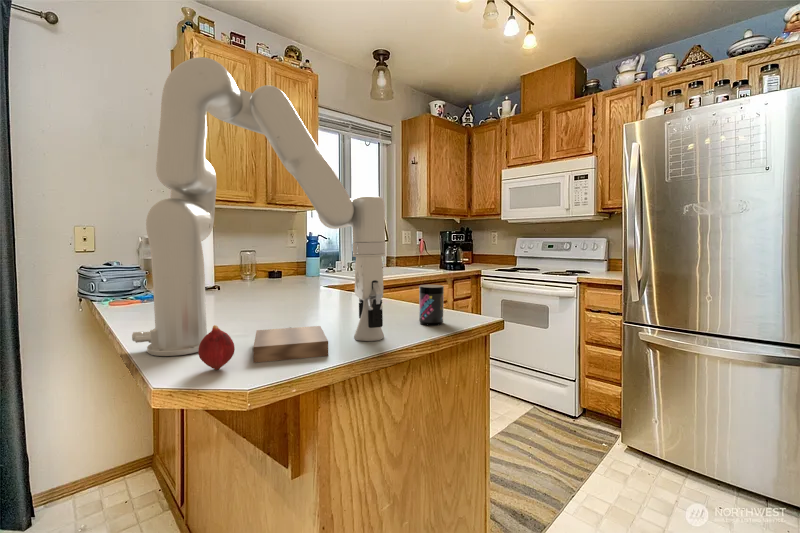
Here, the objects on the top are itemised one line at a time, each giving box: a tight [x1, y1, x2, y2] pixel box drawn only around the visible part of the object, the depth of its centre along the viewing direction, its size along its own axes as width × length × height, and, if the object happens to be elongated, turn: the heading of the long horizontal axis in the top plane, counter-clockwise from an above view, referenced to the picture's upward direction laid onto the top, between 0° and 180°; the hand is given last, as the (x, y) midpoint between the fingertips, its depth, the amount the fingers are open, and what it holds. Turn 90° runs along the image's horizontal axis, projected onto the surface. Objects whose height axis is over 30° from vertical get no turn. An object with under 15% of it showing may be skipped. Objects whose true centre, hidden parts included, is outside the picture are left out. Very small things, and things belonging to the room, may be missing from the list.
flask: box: [353, 298, 385, 342], centre depth 91 cm, size 7×7×10 cm
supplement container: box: [418, 284, 445, 327], centre depth 106 cm, size 7×7×10 cm
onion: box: [197, 324, 236, 371], centre depth 69 cm, size 6×6×8 cm
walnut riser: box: [252, 325, 329, 364], centre depth 82 cm, size 14×14×3 cm
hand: (370, 322), depth 91 cm, fingers open, 9 cm apart
